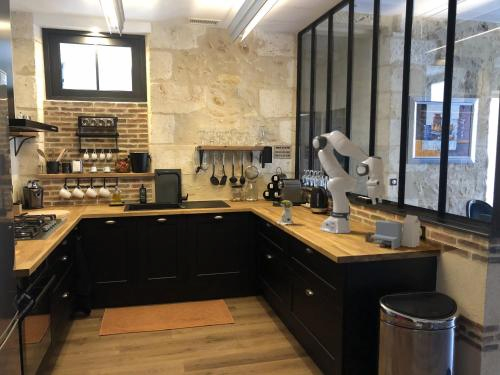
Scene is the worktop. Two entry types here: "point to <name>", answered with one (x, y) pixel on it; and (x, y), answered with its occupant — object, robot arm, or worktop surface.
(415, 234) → the milk carton
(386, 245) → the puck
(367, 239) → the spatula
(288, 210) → the potted plant
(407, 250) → the worktop surface
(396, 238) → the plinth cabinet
